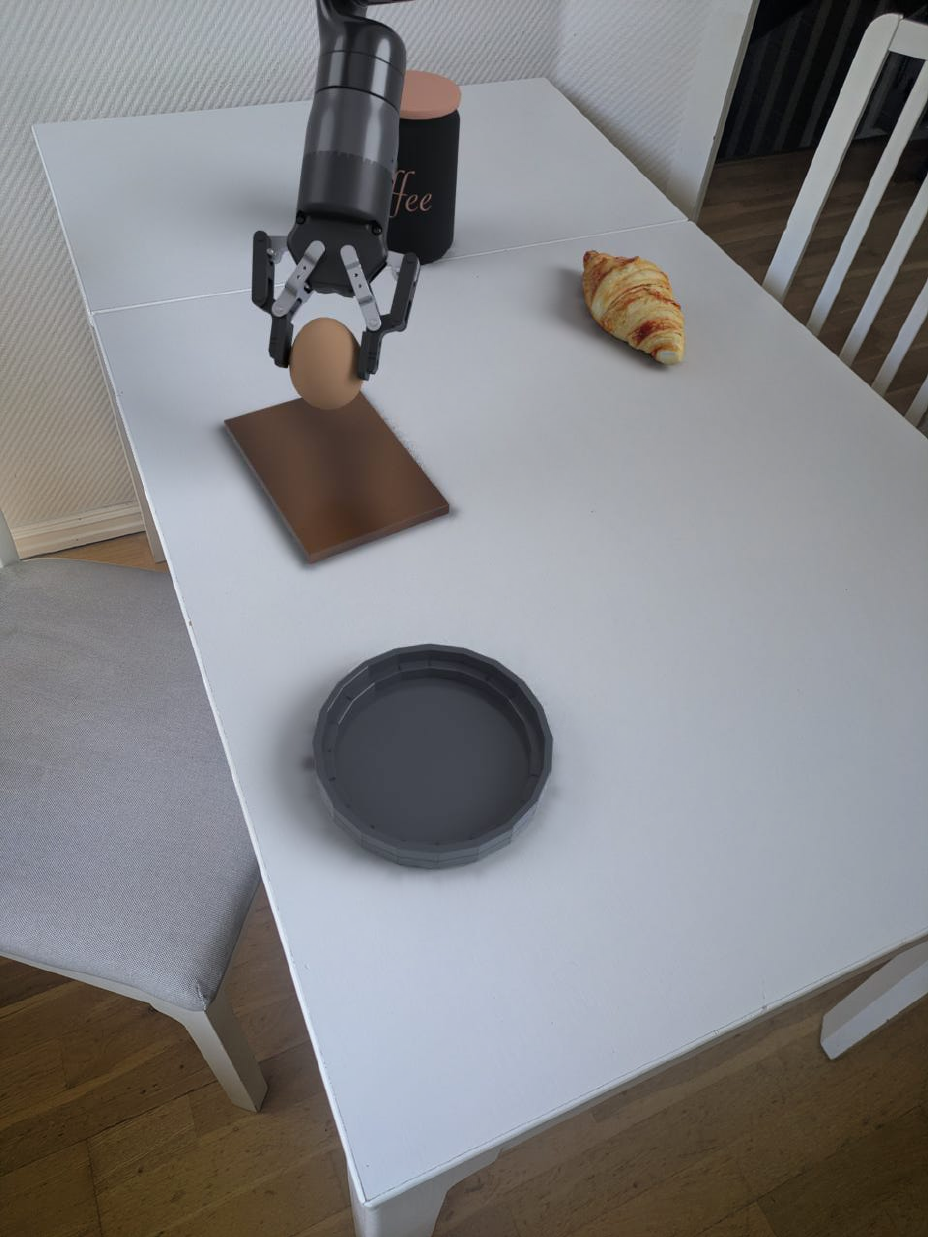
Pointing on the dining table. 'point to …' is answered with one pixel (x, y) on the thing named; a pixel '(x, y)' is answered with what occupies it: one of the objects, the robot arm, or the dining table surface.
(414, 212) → the coffee jar
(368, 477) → the board
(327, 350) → the egg
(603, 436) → the dining table surface
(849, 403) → the dining table surface
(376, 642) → the dining table surface
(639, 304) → the croissant
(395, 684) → the pan
